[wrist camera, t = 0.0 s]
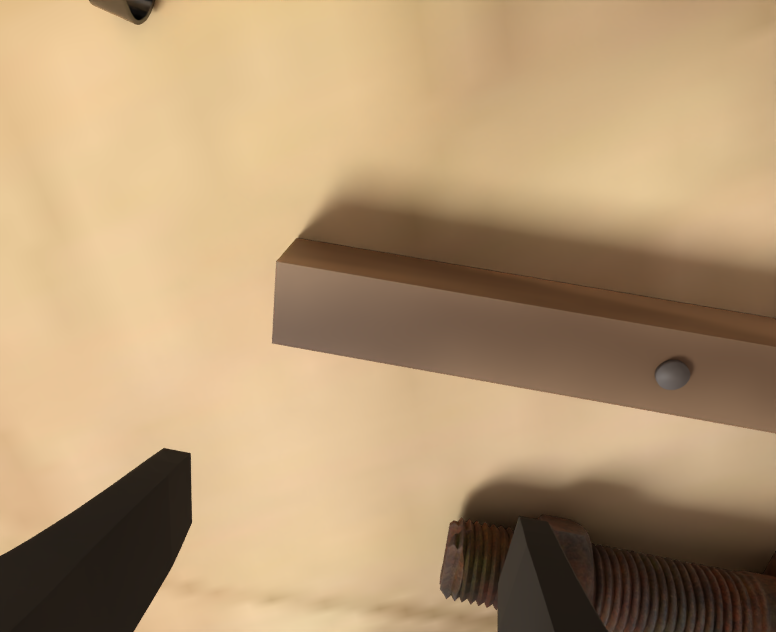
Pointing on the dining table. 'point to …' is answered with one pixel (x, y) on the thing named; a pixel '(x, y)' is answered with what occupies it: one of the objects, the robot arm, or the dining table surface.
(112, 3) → the coffee press
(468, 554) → the bolt
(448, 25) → the dining table surface
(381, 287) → the batten
